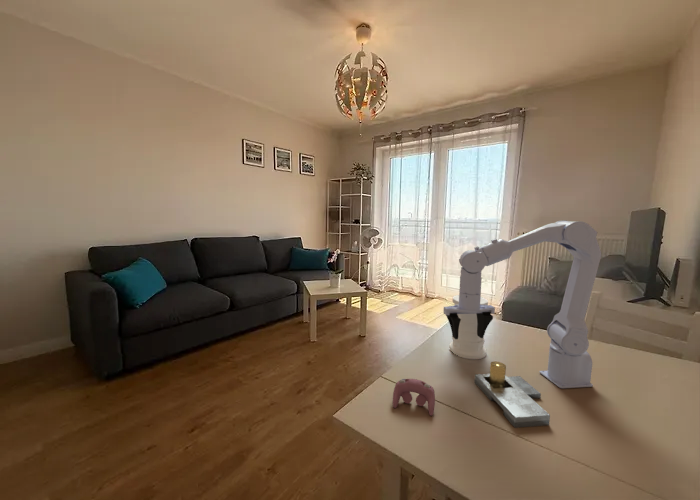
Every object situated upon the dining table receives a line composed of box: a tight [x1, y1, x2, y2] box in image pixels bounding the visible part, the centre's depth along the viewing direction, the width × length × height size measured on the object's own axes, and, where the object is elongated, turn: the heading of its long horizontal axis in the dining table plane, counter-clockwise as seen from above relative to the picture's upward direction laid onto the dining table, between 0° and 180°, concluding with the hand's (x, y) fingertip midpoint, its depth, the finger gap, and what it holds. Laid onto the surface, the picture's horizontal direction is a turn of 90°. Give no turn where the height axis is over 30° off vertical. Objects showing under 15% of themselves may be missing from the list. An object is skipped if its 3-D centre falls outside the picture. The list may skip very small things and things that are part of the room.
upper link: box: [474, 373, 551, 428], centre depth 72 cm, size 8×17×2 cm, turn 5°
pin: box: [489, 360, 507, 388], centre depth 77 cm, size 4×4×7 cm
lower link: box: [474, 375, 542, 402], centre depth 77 cm, size 13×8×1 cm, turn 95°
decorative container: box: [449, 294, 489, 360], centre depth 98 cm, size 12×12×18 cm
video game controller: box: [392, 378, 436, 416], centre depth 71 cm, size 10×5×7 cm, turn 71°
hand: (467, 337), depth 86 cm, fingers open, 7 cm apart
